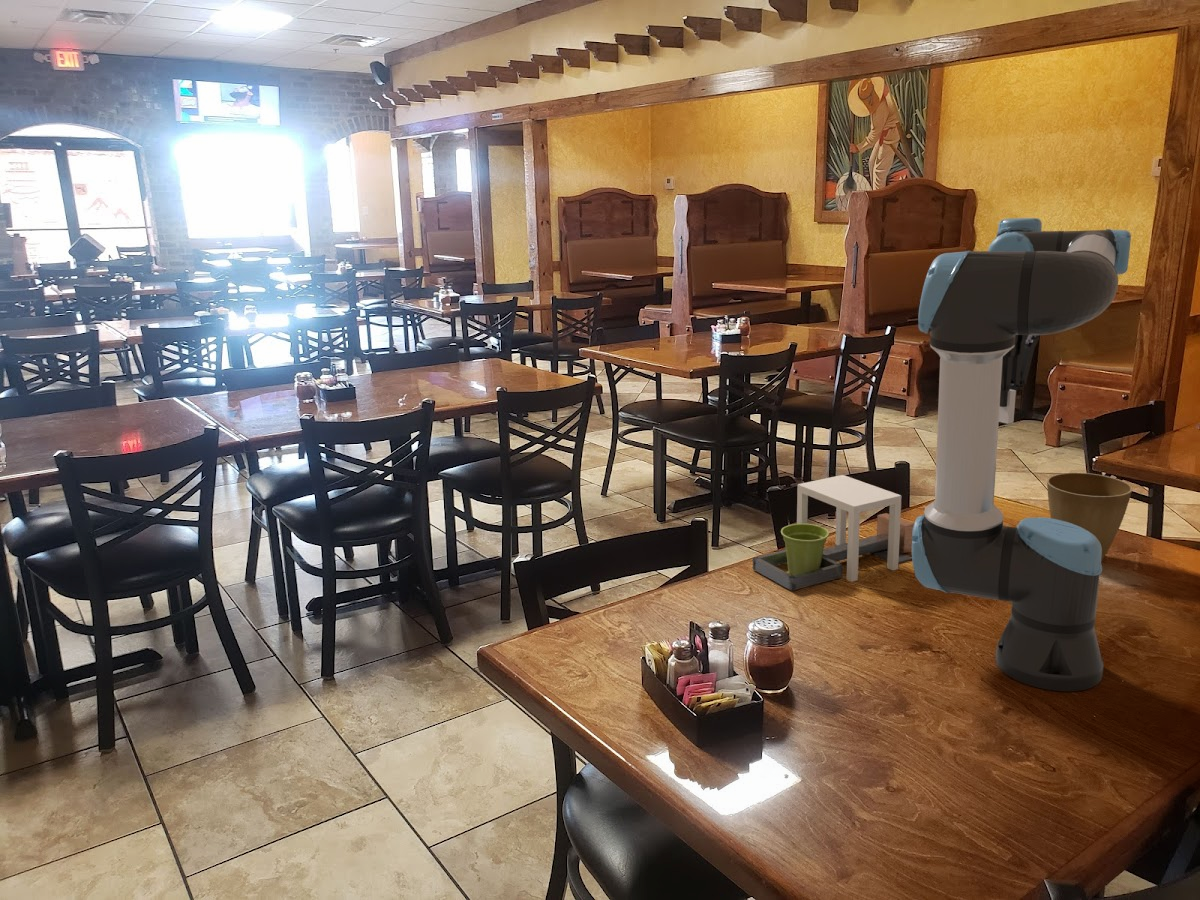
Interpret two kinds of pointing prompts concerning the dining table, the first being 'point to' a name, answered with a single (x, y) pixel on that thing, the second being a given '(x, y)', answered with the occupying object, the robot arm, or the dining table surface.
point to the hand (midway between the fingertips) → (1005, 421)
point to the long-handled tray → (832, 557)
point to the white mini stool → (854, 515)
